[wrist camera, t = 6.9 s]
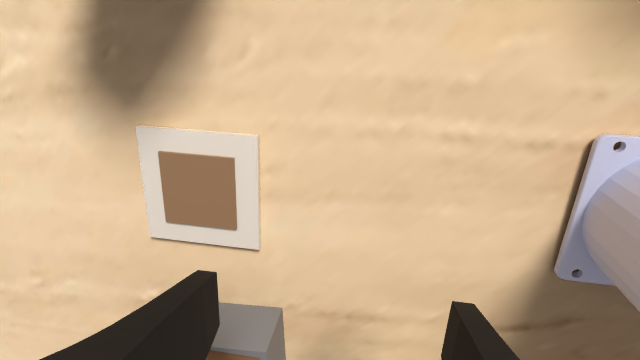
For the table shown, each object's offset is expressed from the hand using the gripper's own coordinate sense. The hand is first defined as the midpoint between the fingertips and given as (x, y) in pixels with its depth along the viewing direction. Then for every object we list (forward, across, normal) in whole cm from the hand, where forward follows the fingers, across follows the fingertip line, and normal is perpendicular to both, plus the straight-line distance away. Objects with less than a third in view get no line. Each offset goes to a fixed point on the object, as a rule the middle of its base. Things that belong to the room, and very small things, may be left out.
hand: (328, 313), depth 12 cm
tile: (+10, +9, +1) cm, 14 cm away
